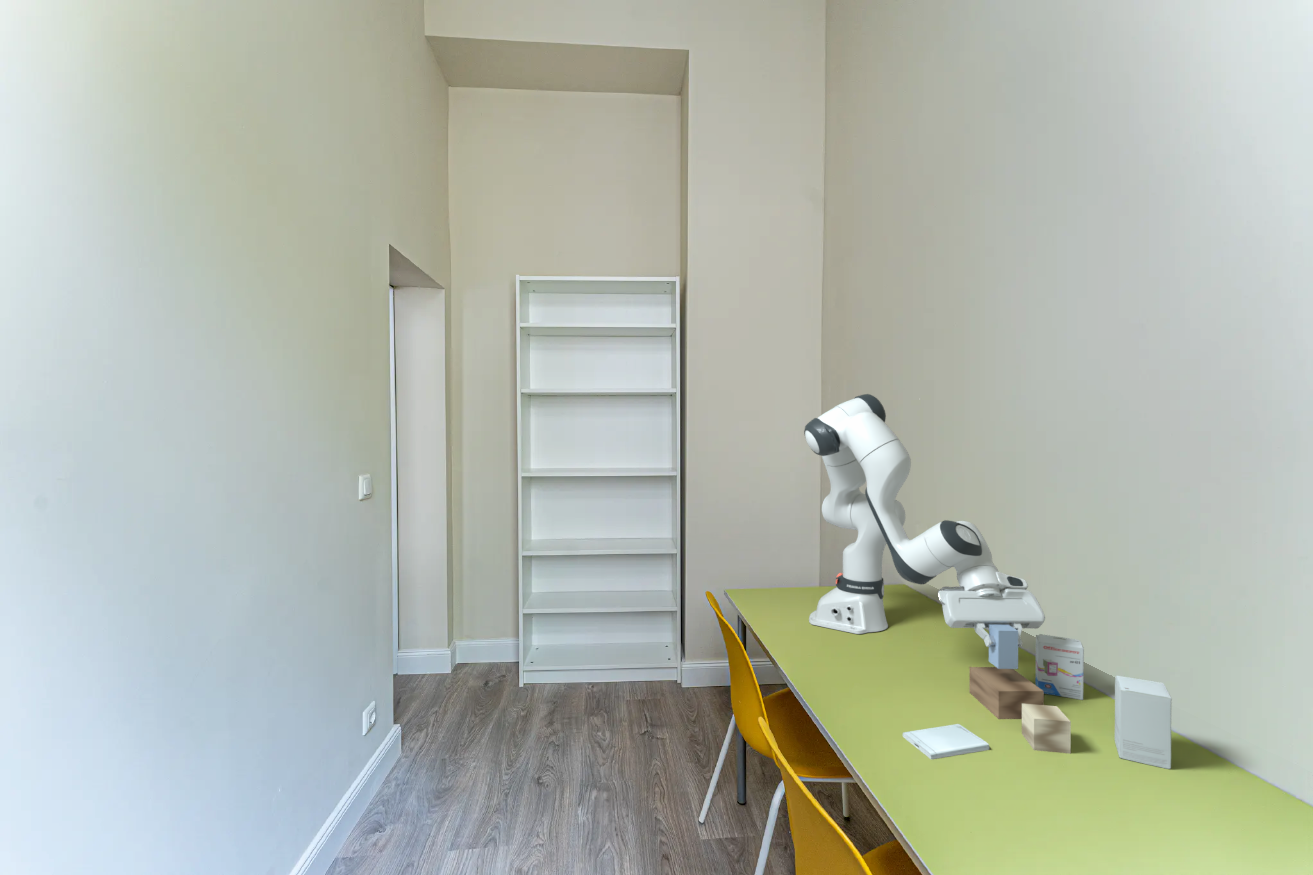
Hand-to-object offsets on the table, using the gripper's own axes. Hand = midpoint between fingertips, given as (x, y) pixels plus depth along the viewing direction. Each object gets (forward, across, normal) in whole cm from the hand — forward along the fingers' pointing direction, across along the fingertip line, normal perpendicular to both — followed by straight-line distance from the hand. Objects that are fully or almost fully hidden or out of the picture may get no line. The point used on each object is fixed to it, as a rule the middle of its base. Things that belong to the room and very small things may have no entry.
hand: (1004, 645), depth 128 cm
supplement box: (+22, +15, -3) cm, 27 cm away
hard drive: (+20, -18, 0) cm, 27 cm away
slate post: (+3, 0, +4) cm, 4 cm away
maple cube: (+20, 0, -1) cm, 20 cm away
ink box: (+4, +16, +14) cm, 22 cm away
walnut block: (+9, +1, +10) cm, 13 cm away
